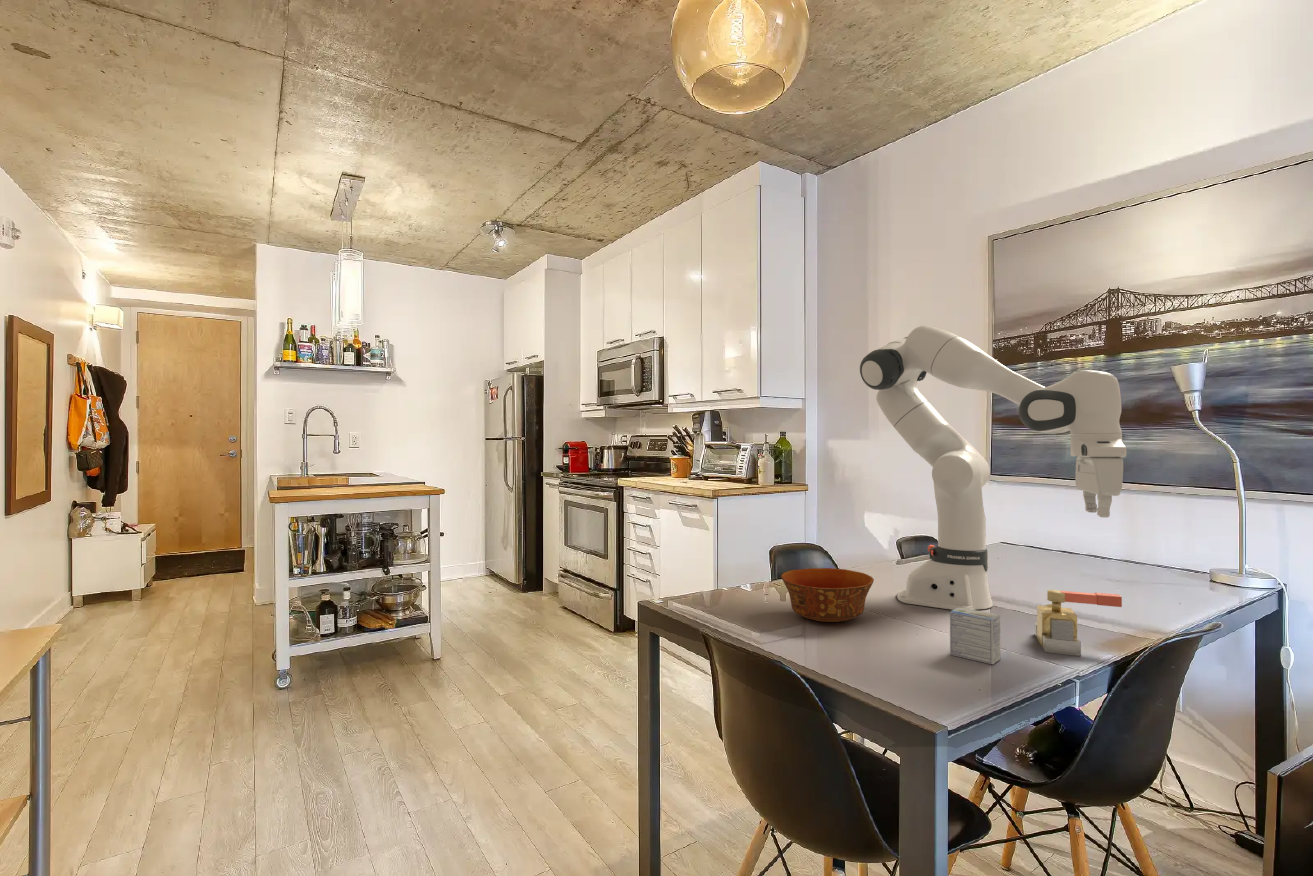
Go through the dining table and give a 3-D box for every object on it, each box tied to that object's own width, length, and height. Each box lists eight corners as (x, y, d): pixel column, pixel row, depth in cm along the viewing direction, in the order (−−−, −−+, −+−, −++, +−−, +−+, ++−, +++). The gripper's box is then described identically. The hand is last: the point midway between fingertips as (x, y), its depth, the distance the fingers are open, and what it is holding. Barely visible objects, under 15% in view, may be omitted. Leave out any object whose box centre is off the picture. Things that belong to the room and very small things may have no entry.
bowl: (793, 633, 137) (793, 587, 137) (772, 606, 158) (772, 567, 158) (888, 632, 138) (888, 586, 138) (854, 606, 159) (854, 566, 159)
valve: (1080, 656, 122) (1080, 610, 122) (1045, 652, 125) (1045, 607, 125) (1067, 637, 134) (1067, 596, 134) (1034, 634, 136) (1034, 593, 136)
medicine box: (1001, 660, 120) (1001, 614, 120) (993, 665, 117) (993, 619, 117) (958, 650, 126) (958, 606, 126) (949, 655, 123) (949, 610, 123)
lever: (1048, 601, 128) (1048, 591, 128) (1046, 598, 131) (1046, 588, 131) (1122, 608, 124) (1122, 597, 124) (1117, 604, 127) (1117, 593, 127)
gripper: (1066, 447, 142) (1068, 509, 142) (1090, 448, 123) (1091, 519, 123) (1100, 447, 139) (1101, 510, 139) (1129, 448, 120) (1130, 520, 120)
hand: (1097, 514), depth 131 cm, fingers open, 8 cm apart
